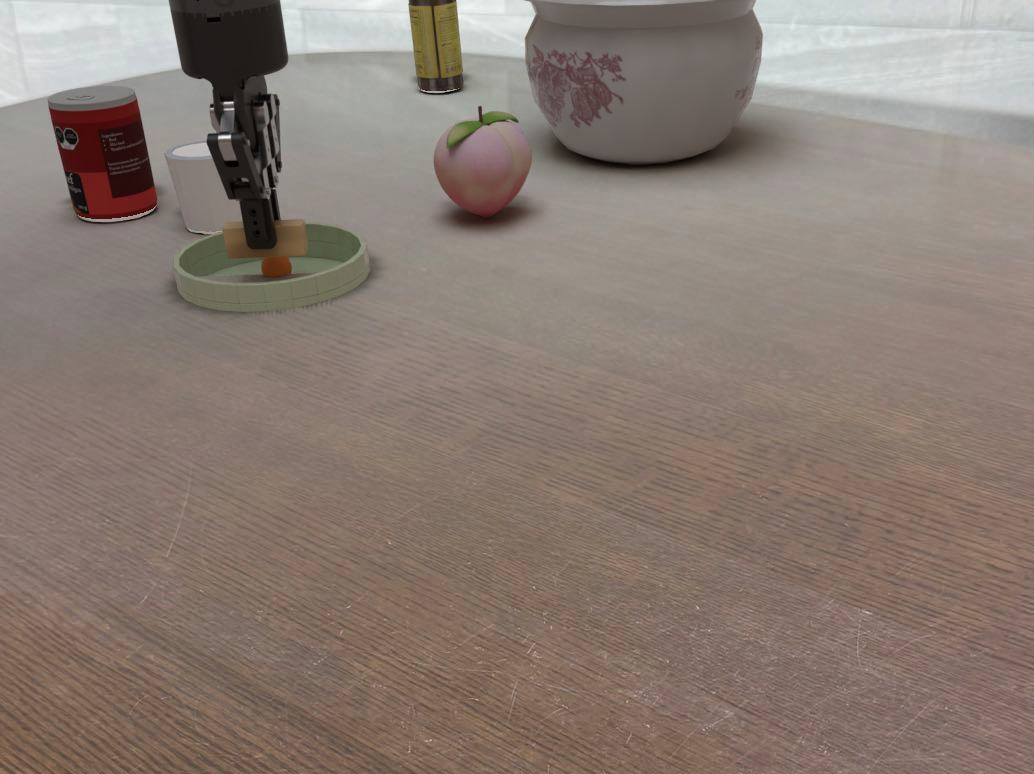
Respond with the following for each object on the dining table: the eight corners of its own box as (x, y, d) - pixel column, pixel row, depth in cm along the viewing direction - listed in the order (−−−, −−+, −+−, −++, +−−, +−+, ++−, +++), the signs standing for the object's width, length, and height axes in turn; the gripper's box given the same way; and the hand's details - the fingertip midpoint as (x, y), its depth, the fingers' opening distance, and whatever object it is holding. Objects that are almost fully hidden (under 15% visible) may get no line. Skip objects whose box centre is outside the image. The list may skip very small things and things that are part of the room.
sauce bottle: (464, 83, 162) (454, -82, 151) (463, 94, 157) (452, -77, 146) (417, 85, 162) (403, -80, 151) (414, 96, 157) (399, -75, 146)
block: (227, 259, 92) (222, 228, 91) (232, 252, 94) (226, 221, 92) (305, 255, 92) (300, 225, 91) (308, 248, 94) (304, 218, 92)
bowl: (158, 331, 90) (148, 287, 88) (208, 264, 103) (200, 224, 101) (356, 327, 90) (351, 282, 88) (382, 259, 103) (378, 219, 101)
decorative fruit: (473, 198, 117) (466, 91, 111) (546, 208, 113) (543, 98, 108) (418, 226, 110) (408, 113, 105) (494, 238, 106) (487, 121, 101)
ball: (260, 287, 96) (256, 258, 95) (267, 277, 98) (262, 248, 97) (290, 286, 96) (286, 257, 95) (296, 276, 98) (292, 247, 97)
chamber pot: (744, 192, 115) (757, -47, 104) (478, 176, 123) (464, -47, 112) (789, 123, 138) (804, -80, 127) (561, 113, 146) (557, -78, 135)
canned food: (83, 203, 120) (56, 87, 114) (165, 197, 121) (142, 83, 115) (66, 226, 113) (36, 106, 108) (152, 221, 114) (127, 100, 108)
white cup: (265, 226, 112) (253, 149, 108) (194, 241, 108) (179, 163, 105) (237, 209, 116) (224, 135, 113) (168, 223, 113) (153, 147, 110)
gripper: (196, -14, 89) (237, 217, 98) (142, 18, 78) (195, 276, 87) (296, -18, 89) (328, 213, 98) (257, 13, 77) (298, 272, 87)
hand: (265, 242), depth 92 cm, fingers closed on block, 1 cm apart
